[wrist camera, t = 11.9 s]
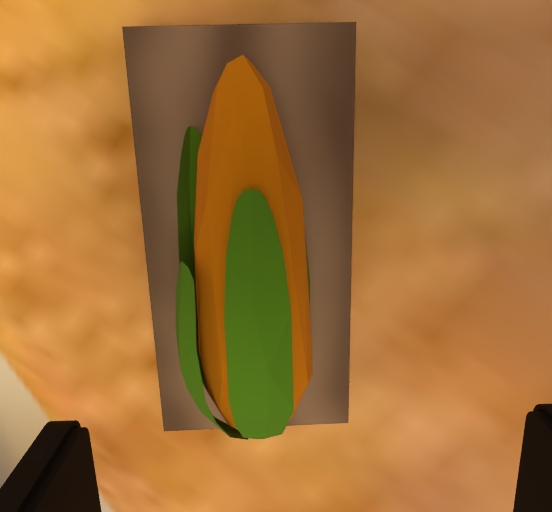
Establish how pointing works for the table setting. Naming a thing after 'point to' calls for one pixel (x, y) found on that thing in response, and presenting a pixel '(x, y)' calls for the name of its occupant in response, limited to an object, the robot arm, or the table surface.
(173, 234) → the board
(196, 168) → the corn
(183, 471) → the table surface
